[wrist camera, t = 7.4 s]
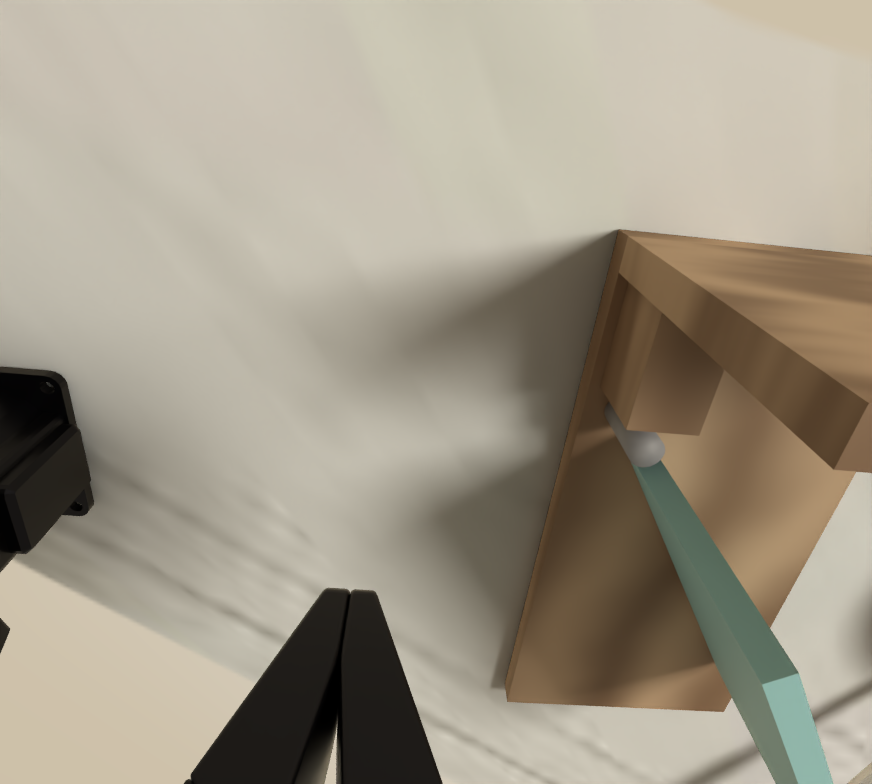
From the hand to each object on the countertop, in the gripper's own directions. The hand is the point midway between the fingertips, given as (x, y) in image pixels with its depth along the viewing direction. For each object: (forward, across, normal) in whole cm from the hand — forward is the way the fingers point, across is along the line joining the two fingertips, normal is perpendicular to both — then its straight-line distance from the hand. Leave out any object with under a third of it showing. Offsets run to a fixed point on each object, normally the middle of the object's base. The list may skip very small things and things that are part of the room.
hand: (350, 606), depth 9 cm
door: (+11, -13, +8) cm, 19 cm away
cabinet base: (+12, -13, +8) cm, 20 cm away
